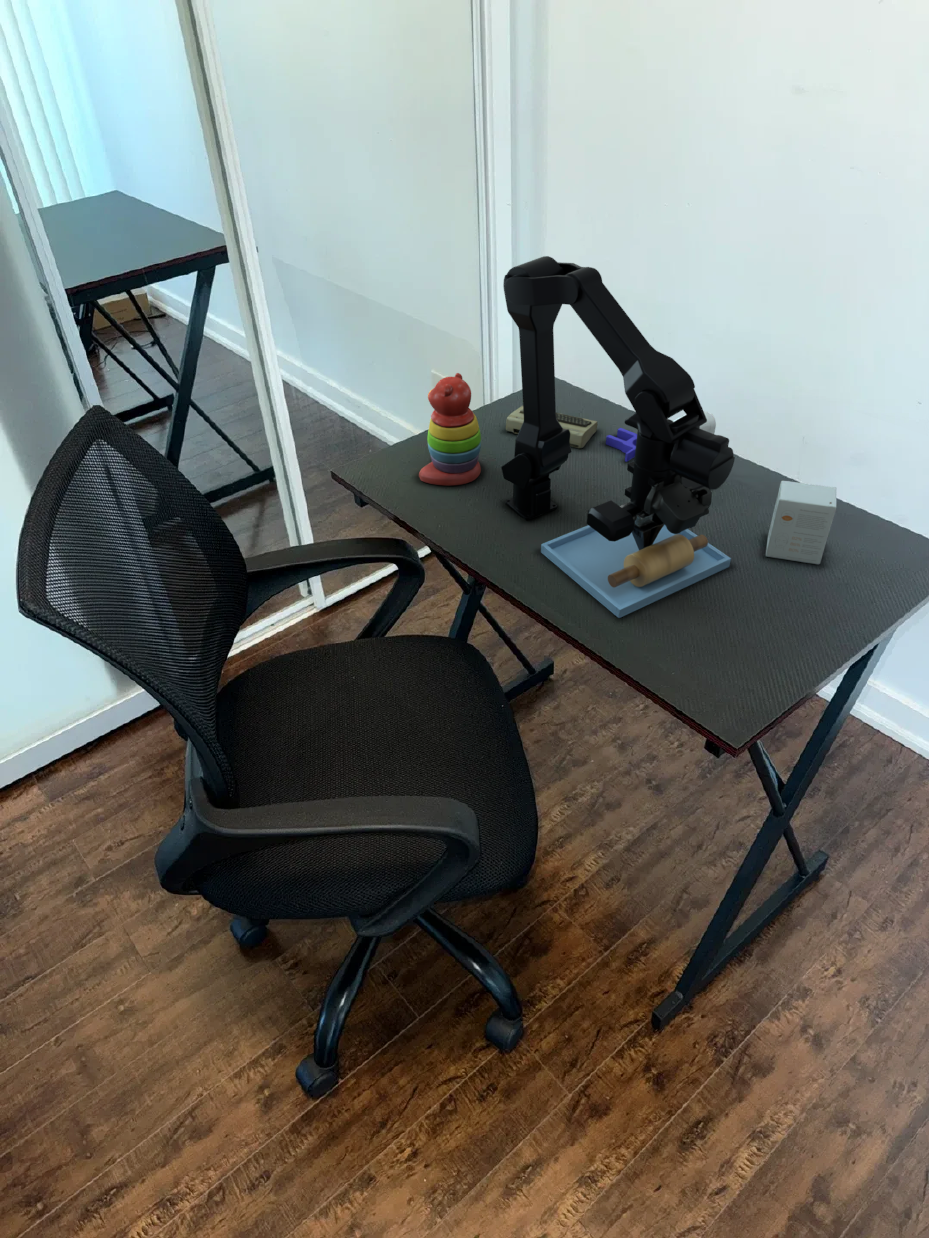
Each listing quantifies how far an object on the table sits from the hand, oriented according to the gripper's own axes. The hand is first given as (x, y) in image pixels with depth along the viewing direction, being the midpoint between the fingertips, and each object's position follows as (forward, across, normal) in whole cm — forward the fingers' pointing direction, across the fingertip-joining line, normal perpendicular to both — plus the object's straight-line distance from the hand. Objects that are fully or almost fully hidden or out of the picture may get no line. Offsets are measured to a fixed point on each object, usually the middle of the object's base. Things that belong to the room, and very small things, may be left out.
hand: (643, 552), depth 124 cm
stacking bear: (+3, -10, +40) cm, 41 cm away
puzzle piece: (+3, +22, +27) cm, 35 cm away
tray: (+2, 0, +2) cm, 3 cm away
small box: (+3, +21, -10) cm, 24 cm away
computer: (+3, +14, +42) cm, 44 cm away
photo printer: (+3, +22, +15) cm, 26 cm away
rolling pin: (+2, 0, -3) cm, 4 cm away
